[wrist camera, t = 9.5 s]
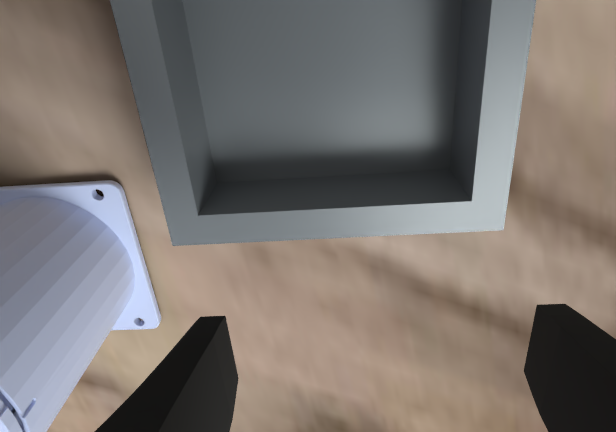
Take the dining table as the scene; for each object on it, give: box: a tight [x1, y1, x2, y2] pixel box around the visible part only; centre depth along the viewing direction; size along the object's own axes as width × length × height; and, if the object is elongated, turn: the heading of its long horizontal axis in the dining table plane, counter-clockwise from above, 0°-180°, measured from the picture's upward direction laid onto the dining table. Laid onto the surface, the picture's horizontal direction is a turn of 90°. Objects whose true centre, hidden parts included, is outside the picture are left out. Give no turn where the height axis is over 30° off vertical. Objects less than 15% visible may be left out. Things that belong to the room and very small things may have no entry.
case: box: [110, 0, 536, 246], centre depth 15 cm, size 12×10×4 cm
